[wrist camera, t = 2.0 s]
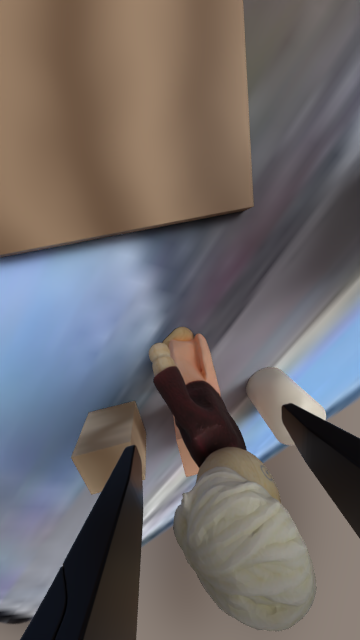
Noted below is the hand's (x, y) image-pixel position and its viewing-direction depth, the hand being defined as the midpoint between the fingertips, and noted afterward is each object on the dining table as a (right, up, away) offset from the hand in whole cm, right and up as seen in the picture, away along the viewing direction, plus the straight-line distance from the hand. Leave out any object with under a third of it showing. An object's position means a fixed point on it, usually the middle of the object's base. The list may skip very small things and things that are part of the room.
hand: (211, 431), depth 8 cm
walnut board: (-6, +16, +2) cm, 17 cm away
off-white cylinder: (+7, -1, +10) cm, 12 cm away
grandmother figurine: (-1, +3, +8) cm, 8 cm away
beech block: (-7, -5, +9) cm, 12 cm away
